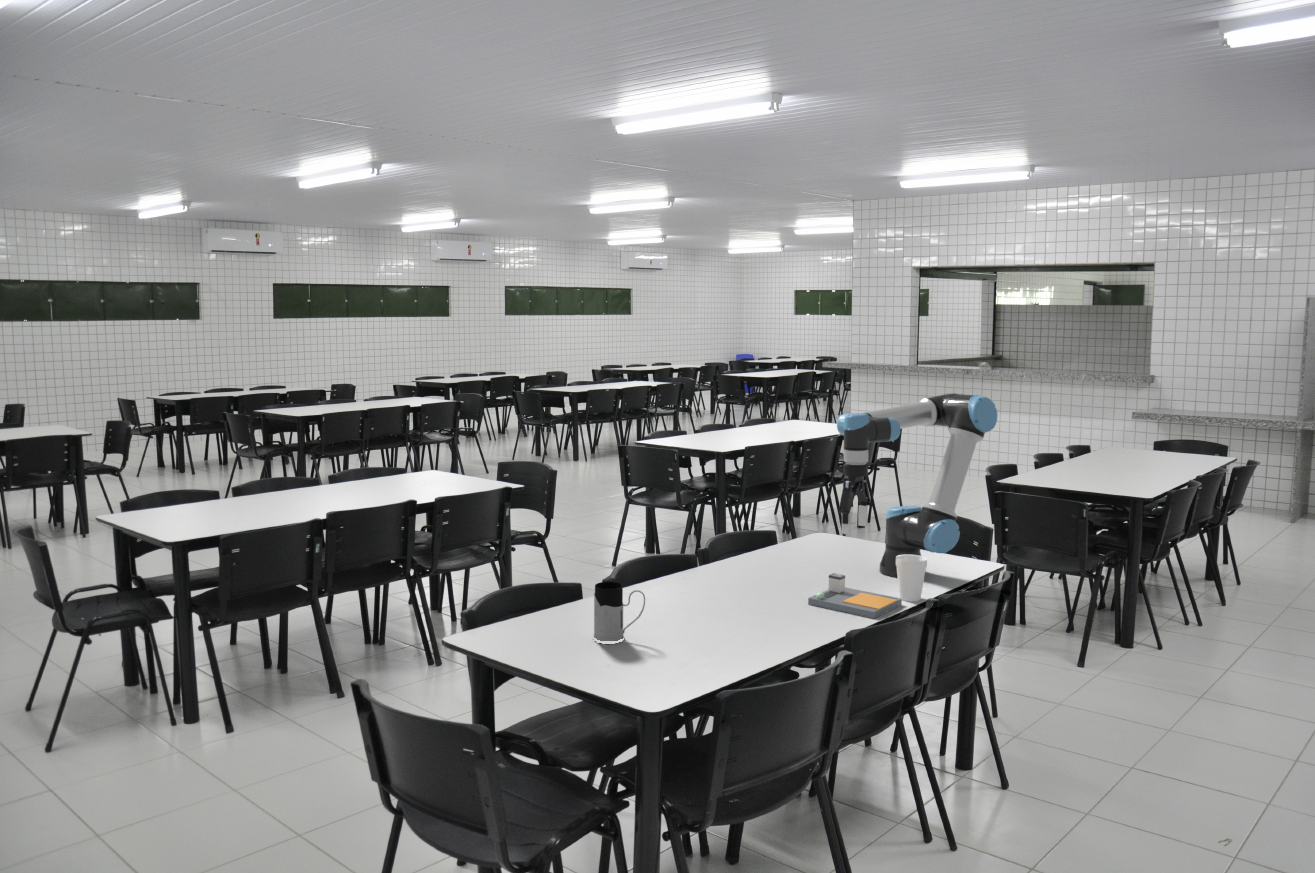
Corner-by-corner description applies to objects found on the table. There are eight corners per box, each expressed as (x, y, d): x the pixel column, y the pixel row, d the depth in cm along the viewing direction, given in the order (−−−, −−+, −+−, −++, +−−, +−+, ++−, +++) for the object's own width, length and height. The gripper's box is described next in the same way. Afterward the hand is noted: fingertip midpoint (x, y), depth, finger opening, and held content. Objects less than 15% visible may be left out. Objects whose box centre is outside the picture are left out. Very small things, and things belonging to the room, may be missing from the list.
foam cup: (926, 603, 296) (927, 562, 294) (895, 602, 297) (896, 560, 296) (924, 595, 305) (925, 555, 303) (893, 593, 307) (895, 553, 305)
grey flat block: (837, 591, 308) (837, 581, 308) (901, 604, 294) (901, 593, 294) (808, 604, 295) (808, 593, 294) (873, 618, 281) (874, 606, 280)
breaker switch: (833, 588, 304) (833, 573, 303) (844, 590, 301) (845, 575, 301) (828, 590, 302) (828, 575, 301) (839, 593, 299) (840, 577, 298)
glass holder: (594, 633, 266) (594, 580, 264) (645, 634, 265) (645, 581, 263) (590, 644, 257) (590, 589, 255) (644, 645, 256) (644, 590, 255)
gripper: (859, 456, 313) (858, 521, 315) (828, 467, 292) (827, 535, 295) (881, 458, 309) (880, 523, 311) (851, 469, 288) (850, 538, 291)
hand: (854, 529), depth 303 cm, fingers open, 13 cm apart
